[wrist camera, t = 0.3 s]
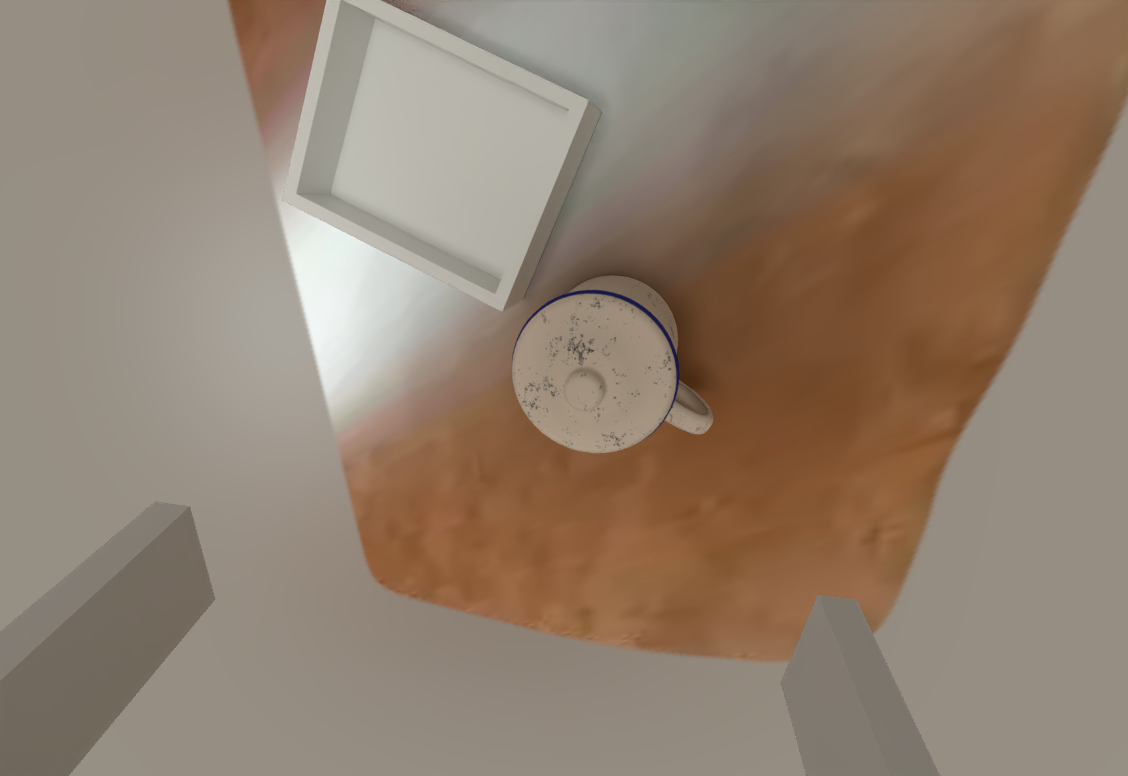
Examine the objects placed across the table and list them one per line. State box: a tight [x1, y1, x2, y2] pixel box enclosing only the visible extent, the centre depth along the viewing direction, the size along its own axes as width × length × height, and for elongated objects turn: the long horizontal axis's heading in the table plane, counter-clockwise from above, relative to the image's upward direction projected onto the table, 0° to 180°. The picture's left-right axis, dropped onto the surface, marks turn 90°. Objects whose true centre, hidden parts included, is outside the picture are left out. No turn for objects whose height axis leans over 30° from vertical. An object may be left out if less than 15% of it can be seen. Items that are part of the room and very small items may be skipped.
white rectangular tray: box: [282, 0, 602, 312], centre depth 34 cm, size 13×16×4 cm
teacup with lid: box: [512, 275, 713, 453], centre depth 32 cm, size 12×9×12 cm
